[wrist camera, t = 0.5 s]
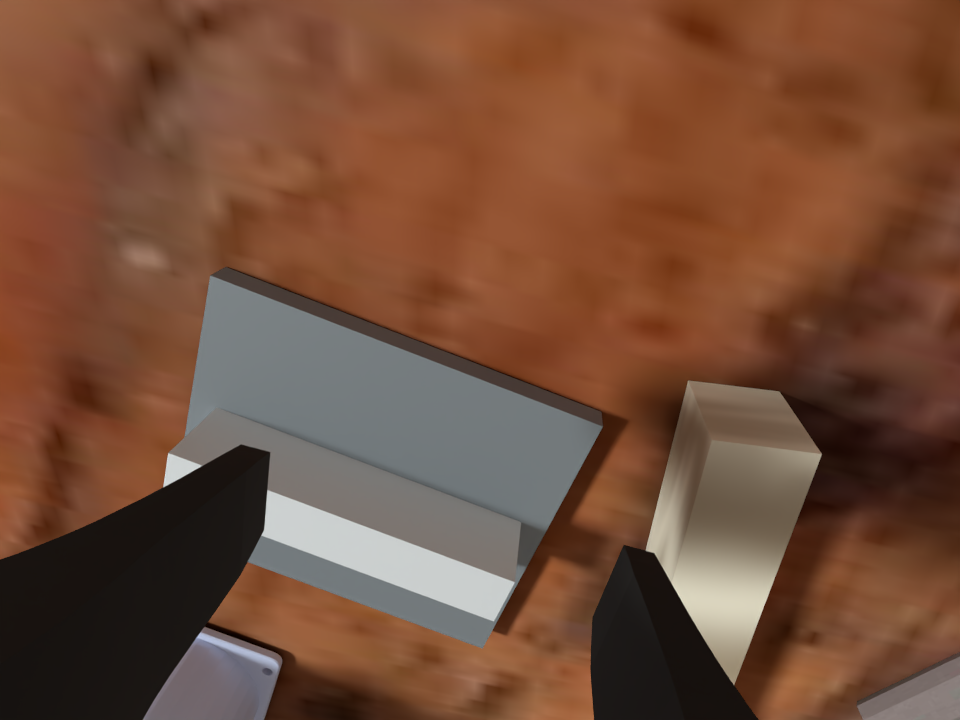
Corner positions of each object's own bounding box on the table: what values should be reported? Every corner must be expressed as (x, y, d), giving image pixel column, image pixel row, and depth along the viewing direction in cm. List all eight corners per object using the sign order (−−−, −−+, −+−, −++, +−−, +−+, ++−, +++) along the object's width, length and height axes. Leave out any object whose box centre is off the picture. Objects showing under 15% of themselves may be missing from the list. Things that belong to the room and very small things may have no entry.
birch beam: (667, 727, 28) (682, 821, 25) (602, 716, 28) (607, 808, 25) (777, 387, 20) (821, 454, 17) (686, 376, 21) (711, 440, 17)
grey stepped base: (485, 629, 27) (472, 715, 23) (182, 517, 26) (121, 587, 23) (601, 411, 21) (608, 479, 18) (225, 266, 21) (154, 306, 17)
